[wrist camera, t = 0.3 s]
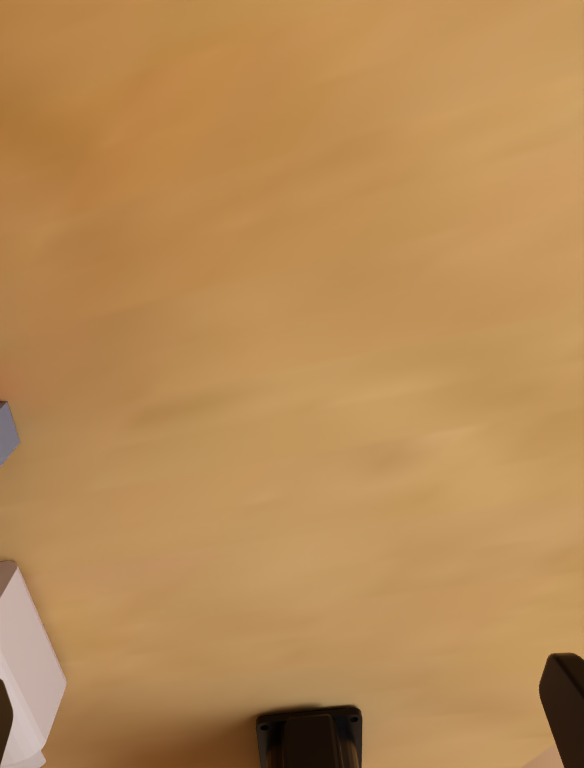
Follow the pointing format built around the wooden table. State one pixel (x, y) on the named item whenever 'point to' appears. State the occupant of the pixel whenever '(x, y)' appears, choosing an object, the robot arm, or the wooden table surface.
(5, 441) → the book row
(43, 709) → the charger
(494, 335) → the wooden table surface
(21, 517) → the wooden table surface
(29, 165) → the wooden table surface
